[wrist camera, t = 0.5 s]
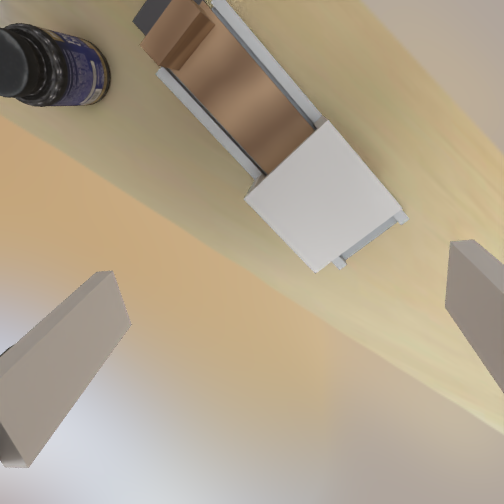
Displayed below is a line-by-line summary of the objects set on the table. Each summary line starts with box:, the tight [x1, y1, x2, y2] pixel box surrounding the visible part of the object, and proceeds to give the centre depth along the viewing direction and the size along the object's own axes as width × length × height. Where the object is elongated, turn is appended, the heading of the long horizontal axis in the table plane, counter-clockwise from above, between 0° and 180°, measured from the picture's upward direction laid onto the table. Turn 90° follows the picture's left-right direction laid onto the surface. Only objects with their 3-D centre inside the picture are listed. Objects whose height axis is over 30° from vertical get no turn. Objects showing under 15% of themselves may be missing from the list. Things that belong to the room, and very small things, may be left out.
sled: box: [140, 0, 315, 174], centre depth 31 cm, size 22×6×7 cm, turn 44°
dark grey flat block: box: [133, 0, 207, 36], centre depth 32 cm, size 4×6×1 cm, turn 134°
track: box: [156, 0, 409, 274], centre depth 31 cm, size 27×9×10 cm, turn 44°
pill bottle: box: [0, 23, 110, 107], centre depth 31 cm, size 6×6×11 cm
